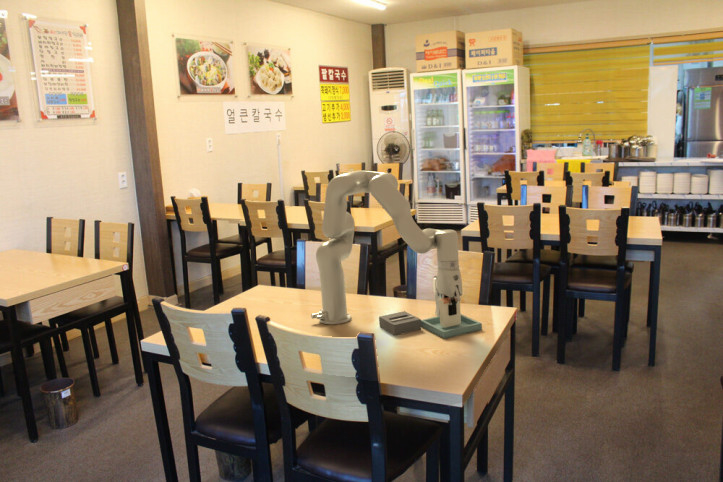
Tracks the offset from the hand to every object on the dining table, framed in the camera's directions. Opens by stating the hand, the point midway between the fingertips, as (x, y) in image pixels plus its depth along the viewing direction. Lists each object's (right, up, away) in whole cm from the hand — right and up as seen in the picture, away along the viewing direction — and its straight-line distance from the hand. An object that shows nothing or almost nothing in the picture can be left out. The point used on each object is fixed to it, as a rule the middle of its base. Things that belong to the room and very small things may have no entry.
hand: (450, 313), depth 221 cm
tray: (0, -6, +1) cm, 6 cm away
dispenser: (-18, -6, +5) cm, 19 cm away
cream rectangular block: (0, -4, +1) cm, 4 cm away
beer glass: (0, -3, +18) cm, 18 cm away
